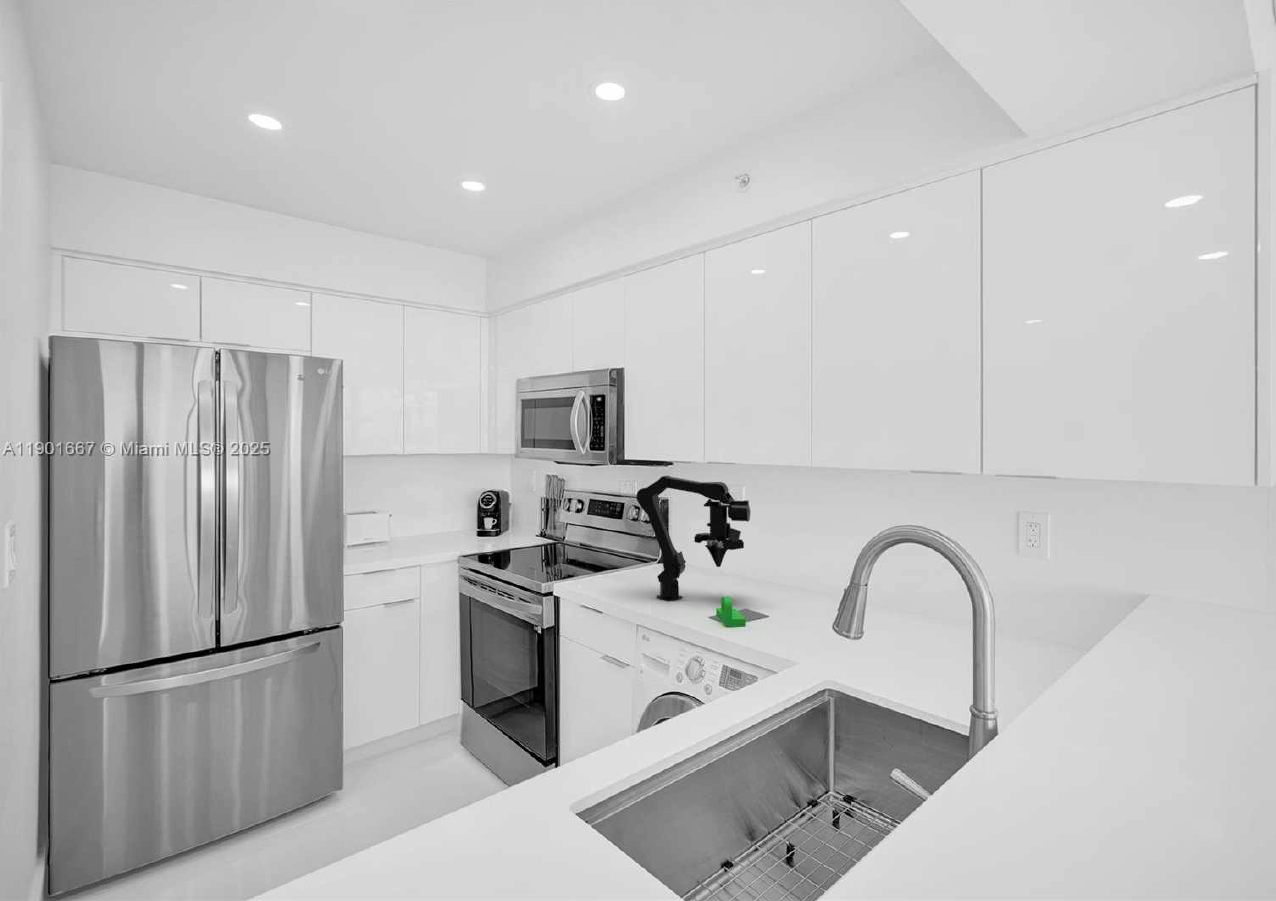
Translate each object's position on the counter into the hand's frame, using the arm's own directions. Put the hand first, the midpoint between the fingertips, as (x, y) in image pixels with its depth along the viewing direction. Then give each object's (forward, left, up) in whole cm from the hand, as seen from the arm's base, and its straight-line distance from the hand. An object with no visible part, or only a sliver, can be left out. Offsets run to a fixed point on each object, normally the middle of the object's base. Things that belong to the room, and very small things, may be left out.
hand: (718, 566), depth 207 cm
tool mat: (+16, -6, -12) cm, 21 cm away
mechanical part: (+17, -11, -12) cm, 23 cm away
